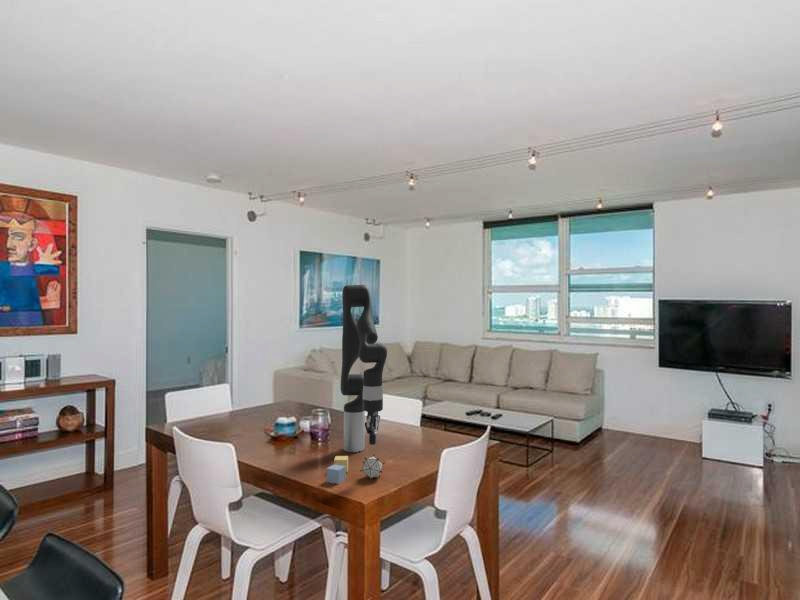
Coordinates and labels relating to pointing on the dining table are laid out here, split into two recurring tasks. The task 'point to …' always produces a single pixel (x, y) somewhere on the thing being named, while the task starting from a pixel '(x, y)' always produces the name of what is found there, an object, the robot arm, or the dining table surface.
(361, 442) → the robot arm
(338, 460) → the ochre block
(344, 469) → the slate block
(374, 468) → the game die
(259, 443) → the dining table surface
